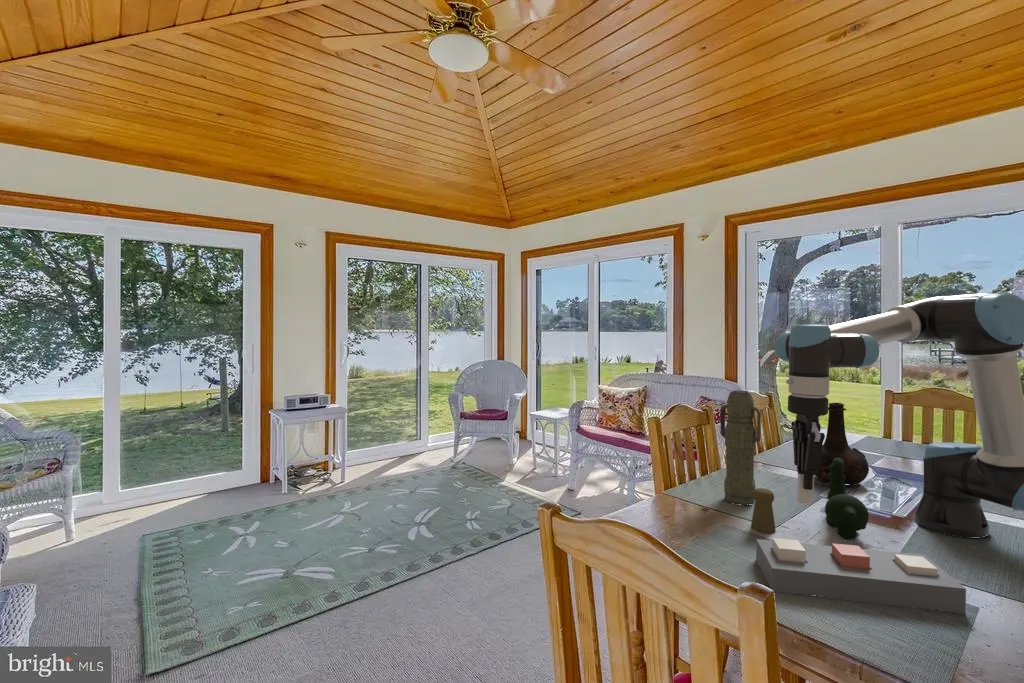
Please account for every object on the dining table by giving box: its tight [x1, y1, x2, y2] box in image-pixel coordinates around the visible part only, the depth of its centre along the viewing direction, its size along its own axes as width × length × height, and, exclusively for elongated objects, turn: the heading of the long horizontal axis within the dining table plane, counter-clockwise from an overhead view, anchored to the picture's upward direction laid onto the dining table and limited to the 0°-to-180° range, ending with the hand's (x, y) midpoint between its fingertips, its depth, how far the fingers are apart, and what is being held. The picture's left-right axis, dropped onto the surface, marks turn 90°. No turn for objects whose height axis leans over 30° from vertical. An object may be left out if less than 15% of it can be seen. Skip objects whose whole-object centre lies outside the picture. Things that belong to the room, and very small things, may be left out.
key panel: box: [755, 538, 967, 615], centre depth 104 cm, size 34×14×5 cm, turn 76°
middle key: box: [831, 543, 870, 570], centre depth 104 cm, size 5×5×4 cm
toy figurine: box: [824, 458, 870, 541], centre depth 131 cm, size 9×19×25 cm
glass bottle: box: [814, 402, 870, 486], centre depth 169 cm, size 18×18×28 cm
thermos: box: [719, 390, 762, 505], centre depth 152 cm, size 9×12×35 cm
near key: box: [894, 554, 938, 576], centre depth 101 cm, size 5×5×4 cm
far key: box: [772, 537, 806, 563], centre depth 107 cm, size 5×5×4 cm
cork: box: [750, 487, 776, 535], centre depth 132 cm, size 6×6×11 cm
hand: (805, 502), depth 105 cm, fingers closed
